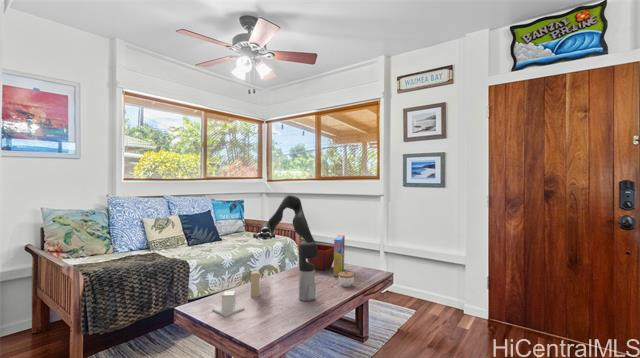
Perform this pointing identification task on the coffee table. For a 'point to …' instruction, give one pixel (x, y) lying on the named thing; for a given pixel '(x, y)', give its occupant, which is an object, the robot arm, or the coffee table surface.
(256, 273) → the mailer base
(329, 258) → the plant pot
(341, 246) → the game box
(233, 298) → the white rectangular block
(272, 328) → the coffee table surface
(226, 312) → the grey mat
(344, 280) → the lidded jar
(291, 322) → the coffee table surface
